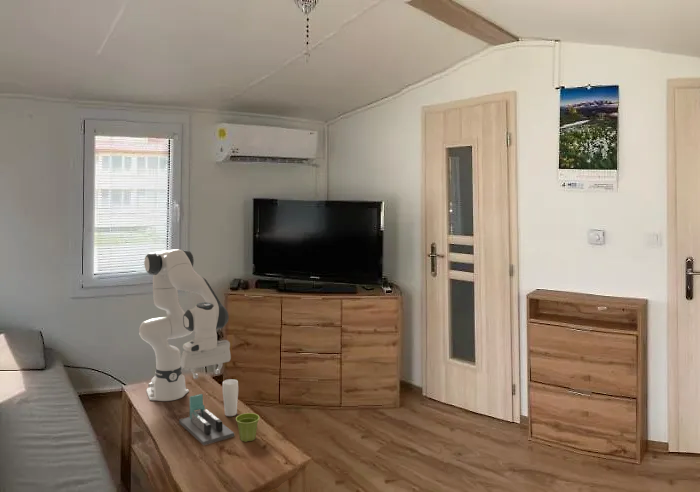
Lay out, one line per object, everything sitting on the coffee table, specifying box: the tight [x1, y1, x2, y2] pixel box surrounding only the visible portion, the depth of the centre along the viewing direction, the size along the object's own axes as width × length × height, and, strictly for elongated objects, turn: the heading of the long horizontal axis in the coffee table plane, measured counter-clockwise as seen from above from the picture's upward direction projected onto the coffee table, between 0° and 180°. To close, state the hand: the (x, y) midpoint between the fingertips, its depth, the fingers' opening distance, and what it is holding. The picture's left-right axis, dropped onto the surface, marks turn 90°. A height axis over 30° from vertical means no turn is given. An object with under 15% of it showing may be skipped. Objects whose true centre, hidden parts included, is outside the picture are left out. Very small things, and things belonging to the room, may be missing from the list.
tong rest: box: [178, 409, 235, 446], centre depth 225 cm, size 26×13×4 cm, turn 38°
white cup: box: [222, 378, 239, 417], centre depth 240 cm, size 7×7×15 cm
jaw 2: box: [203, 408, 223, 432], centre depth 226 cm, size 16×2×4 cm, turn 38°
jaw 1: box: [192, 412, 211, 435], centre depth 223 cm, size 16×2×4 cm, turn 38°
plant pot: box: [235, 412, 260, 443], centre depth 217 cm, size 9×9×9 cm
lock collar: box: [188, 393, 206, 420], centre depth 232 cm, size 3×6×10 cm, turn 128°
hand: (206, 376), depth 221 cm, fingers open, 8 cm apart
